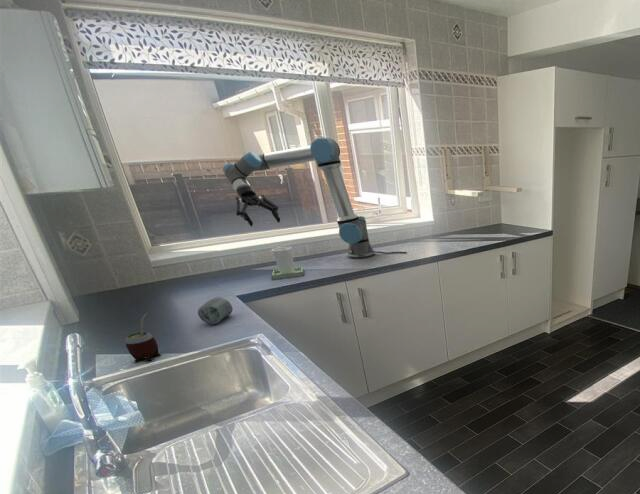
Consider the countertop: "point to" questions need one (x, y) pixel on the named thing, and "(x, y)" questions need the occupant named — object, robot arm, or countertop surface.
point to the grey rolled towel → (215, 310)
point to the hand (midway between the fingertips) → (265, 222)
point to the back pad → (278, 275)
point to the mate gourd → (142, 344)
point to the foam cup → (284, 259)
